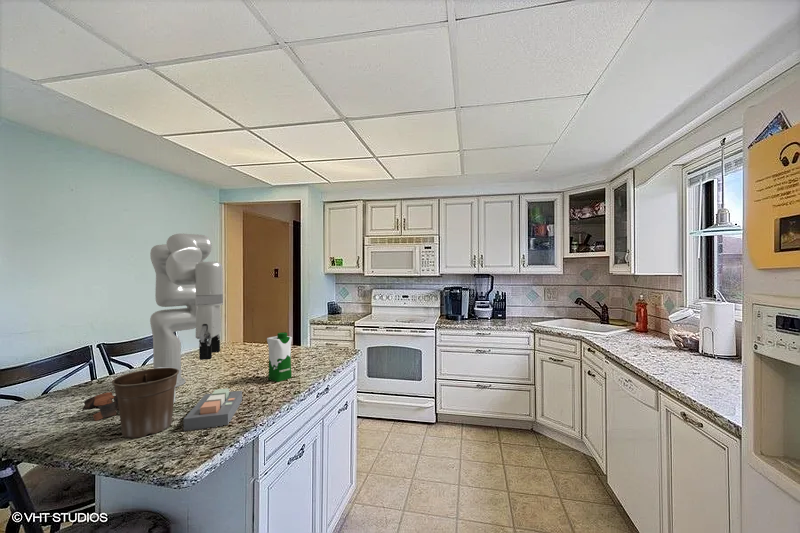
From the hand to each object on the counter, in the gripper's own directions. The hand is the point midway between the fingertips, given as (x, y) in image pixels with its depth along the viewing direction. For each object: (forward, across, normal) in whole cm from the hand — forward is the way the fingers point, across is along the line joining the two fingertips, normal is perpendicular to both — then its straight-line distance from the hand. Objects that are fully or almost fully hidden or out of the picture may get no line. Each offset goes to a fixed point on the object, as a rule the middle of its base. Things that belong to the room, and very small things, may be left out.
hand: (210, 355), depth 107 cm
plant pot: (+21, 0, -17) cm, 27 cm away
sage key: (+18, -12, 0) cm, 22 cm away
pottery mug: (+21, -17, -36) cm, 45 cm away
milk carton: (+21, -39, +17) cm, 47 cm away
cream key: (+18, -6, 0) cm, 19 cm away
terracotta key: (+18, 0, 0) cm, 18 cm away
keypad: (+21, -6, 0) cm, 21 cm away
